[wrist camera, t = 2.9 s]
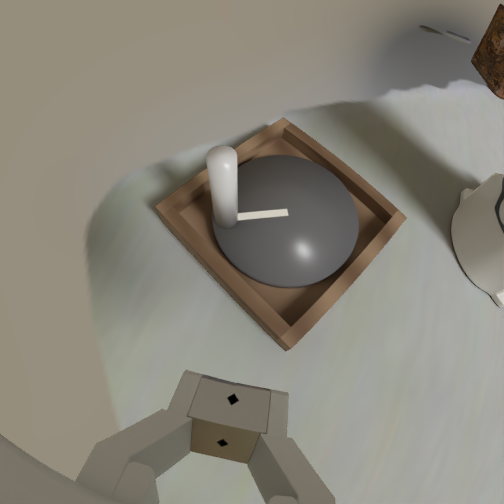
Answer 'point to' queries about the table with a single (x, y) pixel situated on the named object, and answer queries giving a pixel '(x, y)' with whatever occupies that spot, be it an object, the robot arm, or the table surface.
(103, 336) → the table surface
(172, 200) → the dial housing
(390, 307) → the table surface
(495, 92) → the book
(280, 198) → the dial
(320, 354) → the table surface
